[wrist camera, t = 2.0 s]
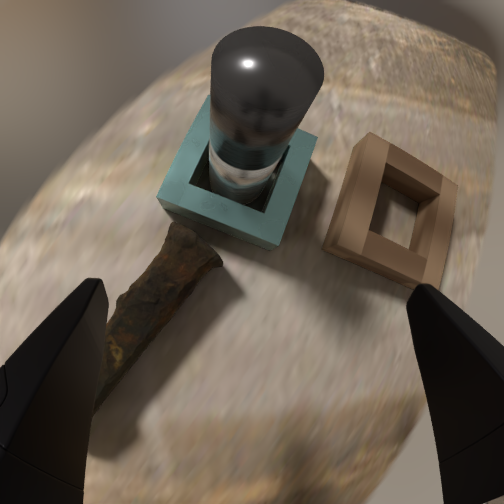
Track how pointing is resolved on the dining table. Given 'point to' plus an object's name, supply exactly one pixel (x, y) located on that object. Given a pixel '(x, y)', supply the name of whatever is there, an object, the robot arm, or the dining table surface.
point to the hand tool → (152, 303)
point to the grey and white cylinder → (257, 106)
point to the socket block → (227, 211)
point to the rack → (363, 203)
